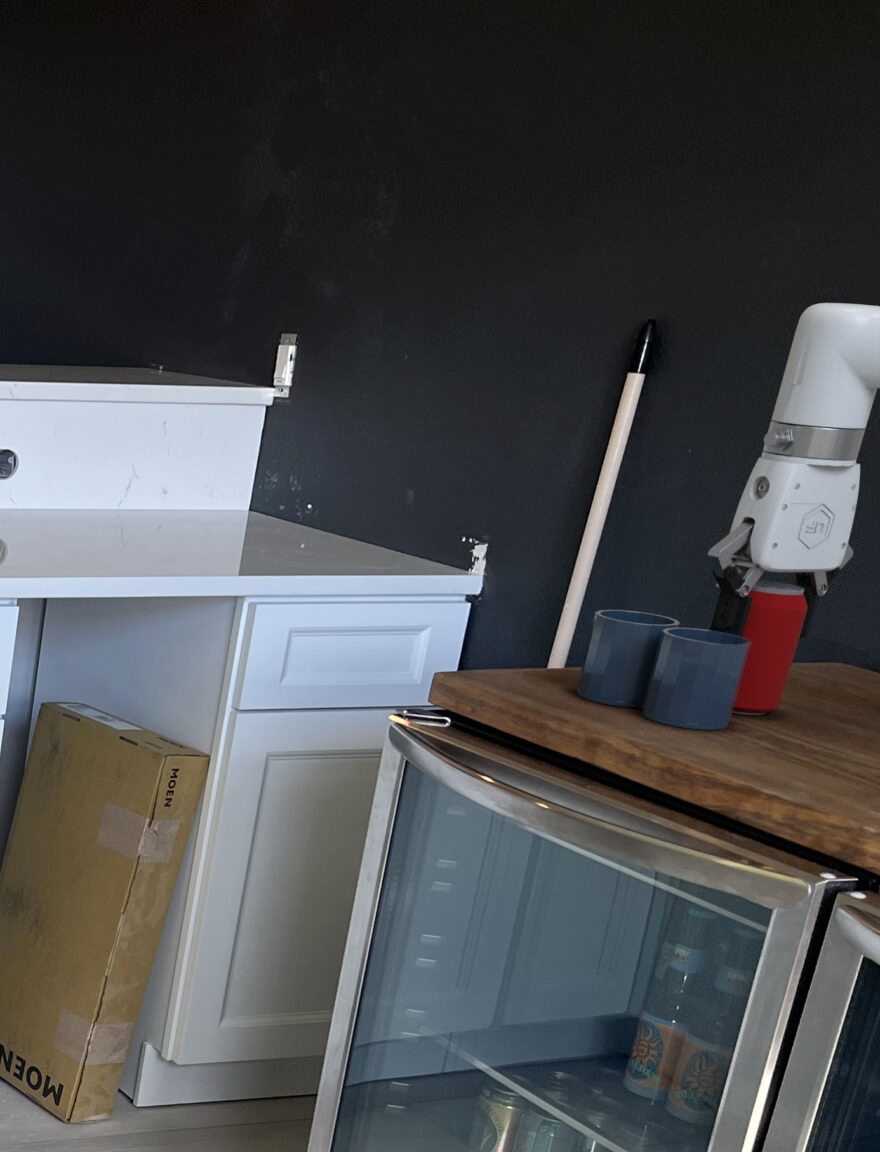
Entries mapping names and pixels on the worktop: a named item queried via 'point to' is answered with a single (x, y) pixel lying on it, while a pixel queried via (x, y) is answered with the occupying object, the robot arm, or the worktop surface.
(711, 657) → the tumbler mid
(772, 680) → the beverage can
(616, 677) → the tumbler far
